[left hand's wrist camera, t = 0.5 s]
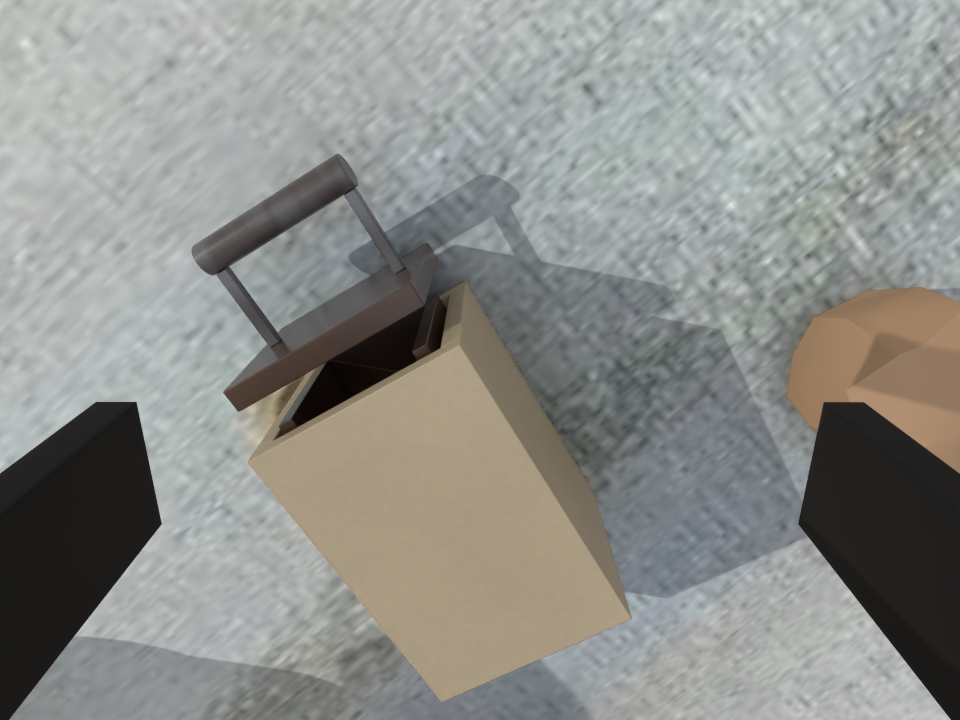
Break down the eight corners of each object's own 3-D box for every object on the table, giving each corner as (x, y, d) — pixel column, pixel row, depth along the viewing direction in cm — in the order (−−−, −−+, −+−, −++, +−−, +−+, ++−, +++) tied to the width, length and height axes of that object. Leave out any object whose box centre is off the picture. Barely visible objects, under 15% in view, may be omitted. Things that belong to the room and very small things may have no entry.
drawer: (214, 237, 36) (130, 276, 28) (365, 141, 35) (326, 150, 26) (422, 523, 43) (407, 626, 34) (557, 455, 41) (578, 547, 33)
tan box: (308, 370, 40) (246, 462, 30) (465, 280, 38) (459, 344, 28) (450, 564, 46) (441, 702, 35) (595, 495, 44) (632, 619, 33)
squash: (876, 230, 37) (1031, 261, 29) (989, 441, 45) (1136, 512, 37) (733, 355, 38) (844, 419, 30) (868, 541, 46) (986, 632, 38)
